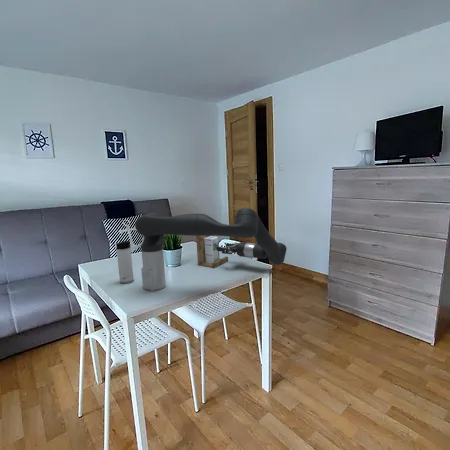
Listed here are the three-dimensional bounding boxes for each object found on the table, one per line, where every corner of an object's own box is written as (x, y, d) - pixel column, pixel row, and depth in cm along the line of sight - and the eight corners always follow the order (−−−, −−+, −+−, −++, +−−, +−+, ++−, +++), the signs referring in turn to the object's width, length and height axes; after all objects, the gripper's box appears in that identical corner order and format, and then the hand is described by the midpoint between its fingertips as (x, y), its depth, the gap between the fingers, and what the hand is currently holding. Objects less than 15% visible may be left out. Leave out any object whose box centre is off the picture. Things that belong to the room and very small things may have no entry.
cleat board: (214, 268, 148) (212, 235, 145) (197, 265, 154) (196, 233, 151) (228, 261, 160) (226, 230, 157) (212, 258, 166) (211, 228, 163)
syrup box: (213, 264, 153) (212, 238, 151) (205, 262, 157) (204, 237, 154) (219, 261, 158) (218, 236, 155) (211, 260, 161) (210, 235, 159)
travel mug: (126, 285, 129) (122, 243, 126) (117, 282, 133) (112, 241, 129) (137, 280, 135) (133, 240, 131) (128, 278, 138) (124, 239, 135)
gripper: (254, 240, 149) (228, 237, 158) (240, 246, 137) (213, 243, 146) (254, 253, 150) (228, 250, 159) (241, 260, 138) (214, 256, 147)
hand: (221, 246), depth 152 cm, fingers open, 8 cm apart
